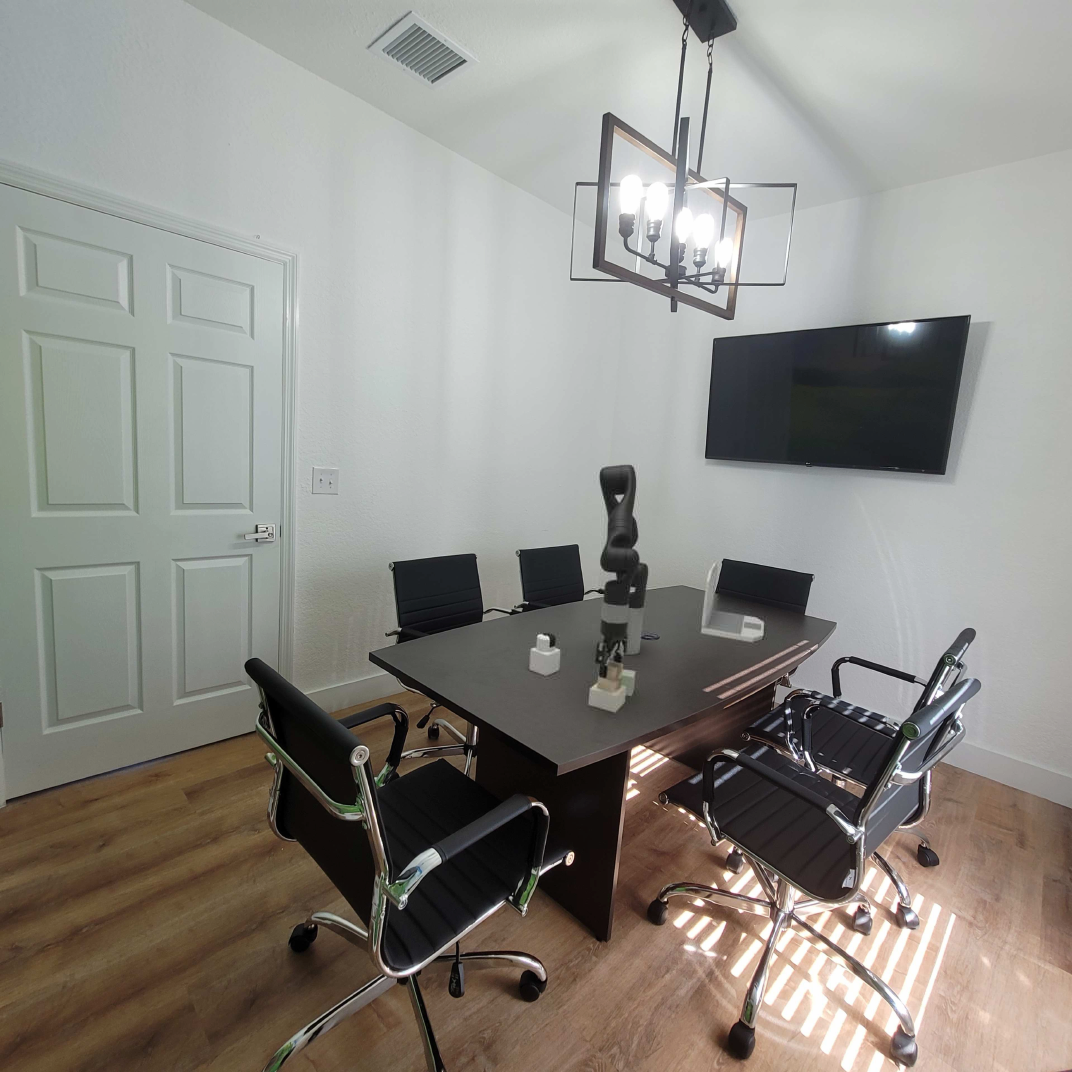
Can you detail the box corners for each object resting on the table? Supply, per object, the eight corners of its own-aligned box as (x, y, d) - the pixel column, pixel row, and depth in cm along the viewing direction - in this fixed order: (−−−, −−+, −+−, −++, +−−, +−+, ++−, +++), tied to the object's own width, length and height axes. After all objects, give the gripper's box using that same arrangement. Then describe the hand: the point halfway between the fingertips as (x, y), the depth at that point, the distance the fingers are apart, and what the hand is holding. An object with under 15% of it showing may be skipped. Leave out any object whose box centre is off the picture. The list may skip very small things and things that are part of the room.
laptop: (762, 644, 219) (770, 580, 215) (700, 633, 228) (707, 571, 224) (763, 623, 249) (771, 567, 245) (708, 614, 258) (715, 559, 254)
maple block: (605, 682, 159) (607, 659, 158) (620, 687, 156) (623, 664, 155) (597, 687, 155) (599, 664, 154) (612, 693, 152) (615, 669, 151)
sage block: (617, 687, 168) (619, 668, 167) (633, 690, 166) (635, 671, 166) (614, 693, 163) (616, 674, 162) (631, 696, 162) (633, 677, 161)
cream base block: (599, 695, 161) (600, 679, 161) (624, 702, 158) (626, 686, 157) (588, 705, 154) (589, 688, 154) (614, 713, 151) (616, 696, 150)
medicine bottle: (542, 664, 182) (544, 629, 180) (559, 670, 178) (562, 635, 176) (528, 669, 177) (531, 634, 175) (545, 676, 172) (548, 640, 170)
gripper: (614, 610, 160) (610, 662, 163) (590, 620, 149) (585, 676, 151) (638, 615, 156) (633, 669, 158) (614, 626, 144) (609, 684, 147)
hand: (610, 672), depth 155 cm, fingers open, 8 cm apart
